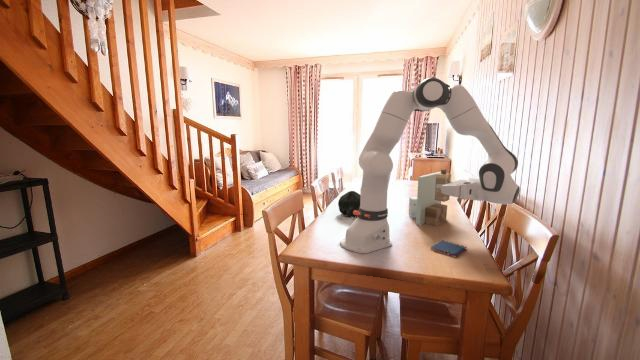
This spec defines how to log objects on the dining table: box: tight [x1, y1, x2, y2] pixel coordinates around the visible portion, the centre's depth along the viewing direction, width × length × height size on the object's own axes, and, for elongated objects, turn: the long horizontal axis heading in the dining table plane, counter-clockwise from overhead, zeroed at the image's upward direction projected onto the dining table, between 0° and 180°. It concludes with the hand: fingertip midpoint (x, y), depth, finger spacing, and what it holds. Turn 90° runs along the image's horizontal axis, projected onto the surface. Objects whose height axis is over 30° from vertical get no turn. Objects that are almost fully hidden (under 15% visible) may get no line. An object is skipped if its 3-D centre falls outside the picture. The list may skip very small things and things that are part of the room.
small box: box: [408, 196, 417, 219], centre depth 156 cm, size 8×6×10 cm
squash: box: [337, 190, 360, 218], centre depth 159 cm, size 14×15×15 cm
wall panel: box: [415, 171, 442, 226], centre depth 149 cm, size 22×2×24 cm, turn 133°
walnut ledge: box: [424, 203, 448, 227], centre depth 148 cm, size 12×6×8 cm, turn 133°
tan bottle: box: [435, 168, 452, 203], centre depth 131 cm, size 6×4×14 cm
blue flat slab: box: [430, 240, 468, 258], centre depth 115 cm, size 10×11×2 cm
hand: (440, 184), depth 132 cm, fingers closed on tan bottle, 6 cm apart
